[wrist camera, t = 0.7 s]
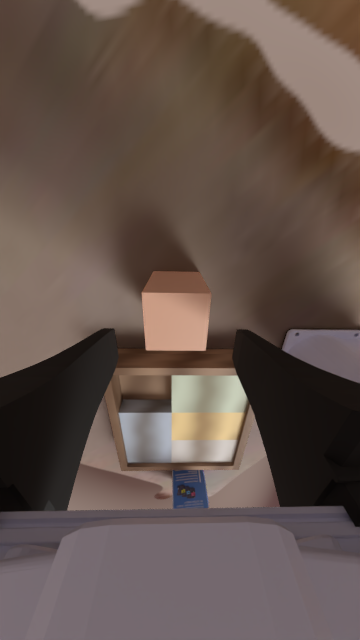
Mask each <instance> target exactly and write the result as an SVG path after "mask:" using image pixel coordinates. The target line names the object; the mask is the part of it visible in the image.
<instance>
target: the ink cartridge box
mask: <svg viewBox="0 0 360 640" xmlns="http://www.w3.org/2000/svg"><path fill="white" fill-rule="evenodd" d="M172 496H173V509H192V508H209V503H208V496H207V489H206V482H205V475H204V470H172Z"/></svg>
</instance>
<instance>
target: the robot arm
mask: <svg viewBox="0 0 360 640" xmlns="http://www.w3.org/2000/svg"><path fill="white" fill-rule="evenodd" d="M296 333H297V334H296ZM295 334H296V335H295ZM118 358H119V355H118V349H117V343H116V336H115V330H114V329H107V328H104V329H101V330H99V331H98V332H96V333H94V334H92V335H91V336H89V337H87V338H86V339H84V340H82V341H80V342H79V343H77V344H75V345H73V346H72V347H70V348H68V349H66V350H64V351H62V352H60V353H59V354H57V355H55V356H53V357H51V358H48V359H46V360H44V361H42V362H40V363H37V364H35V365H33V366H30V367H28V368H25V369H23V370H20V371H17V372H15V373H12V374H9V375H7V376H4V377H1V378H0V640H360V330H310V329H291V330H289V331H288V332H287V335H286V338H285V341H284V344H283V347H282V350H281V349H280V348H278V347H276V346H274V345H273V344H271V343H269V342H268V341H266V340H265V339H263V338H261V337H260V336H258V335H256V334H255V333H253V332H251V331H249V330H237V332H236V338H235V343H234V349H233V354H232V360H233V363H234V367H235V370H236V373H237V376H238V378H239V380H240V383H241V385H242V387H243V389H244V392H245V394H246V396H247V398H248V401H249V403H250V405H251V408H252V410H253V413H254V415H255V419H256V422H257V425H258V428H259V431H260V434H261V437H262V441H263V444H264V447H265V451H266V454H267V458H268V461H269V465H270V469H271V472H272V476H273V480H274V484H275V488H276V492H277V496H278V500H279V504H280V507H253V508H192V509H138V510H135V509H134V510H80V511H79V510H76V511H67V508H68V504H69V500H70V497H71V493H72V489H73V485H74V482H75V478H76V474H77V471H78V468H79V464H80V461H81V457H82V454H83V451H84V448H85V444H86V441H87V438H88V435H89V432H90V429H91V426H92V423H93V420H94V417H95V414H96V412H97V410H98V407H99V405H100V403H101V400H102V398H103V396H104V394H105V392H106V390H107V387H108V385H109V383H110V381H111V379H112V376H113V374H114V372H115V369H116V365H117V362H118Z"/></svg>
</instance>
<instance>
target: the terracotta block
mask: <svg viewBox="0 0 360 640" xmlns="http://www.w3.org/2000/svg"><path fill="white" fill-rule="evenodd" d="M210 303H211V292H210V290H209V288H208V286H207V285H206V283H205V281H204V279H203V277H202V276H201V274H200V272H176V271H153V273H152V275H151V276H150V278H149V280H148V282H147V284H146V286H145V287H144V289H143V291H142V304H143V318H144V331H145V345H146V350H162V351H206V343H207V333H208V323H209V313H210Z"/></svg>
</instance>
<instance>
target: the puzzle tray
mask: <svg viewBox="0 0 360 640" xmlns="http://www.w3.org/2000/svg"><path fill="white" fill-rule="evenodd" d="M117 349H118V355H119V358H118V362H117V365H116V369H115V372H114V374H113V376H112V379H111V381H110V383H109V385H108V387H107V390H106V392H105V394H104V395H105V400H106V404H107V409H108V413H109V418H110V422H111V427H112V431H113V436H114V440H115V445H116V449H117V454H118V458H119V463H120V467H121V471H150V470H239V467H240V464H241V460H242V457H243V454H244V450H245V447H246V444H247V441H248V437H249V434H250V431H251V427H252V424H253V421H254V417H255V415H254V413H253V410H252V408H251V405H250V403H249V401H248V398H247V396H246V394H245V392H244V389H243V387H242V385H241V383H240V380H239V378H238V376H237V373H236V370H235V367H234V363H233V360H232V354H233V349H206V351H162V350H146V349H136V348H117Z"/></svg>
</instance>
